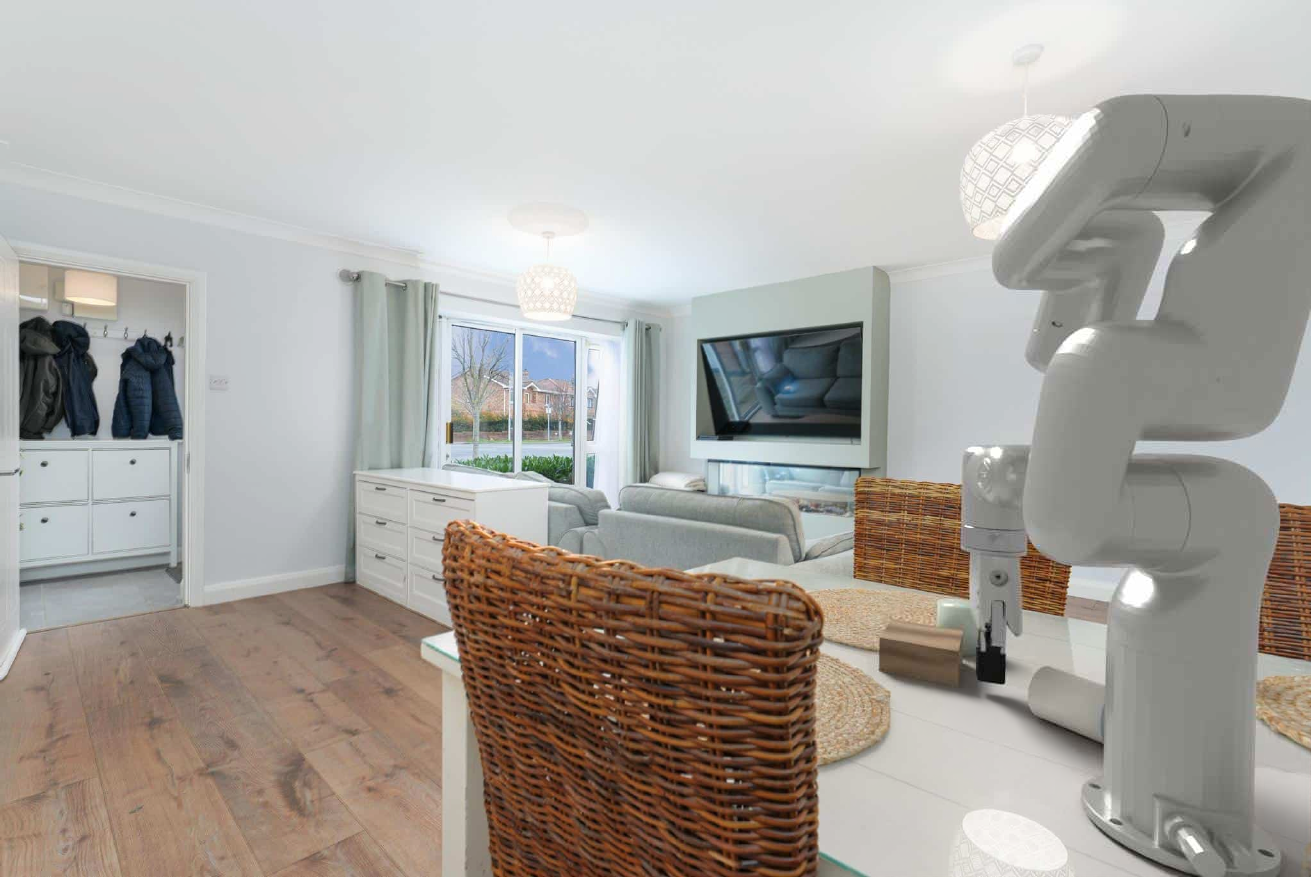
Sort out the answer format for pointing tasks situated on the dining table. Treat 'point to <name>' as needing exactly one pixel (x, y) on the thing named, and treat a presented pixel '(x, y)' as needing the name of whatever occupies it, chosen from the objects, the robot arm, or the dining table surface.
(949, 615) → the pale green rounded cylinder
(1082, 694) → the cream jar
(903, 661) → the tan box
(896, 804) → the dining table surface
